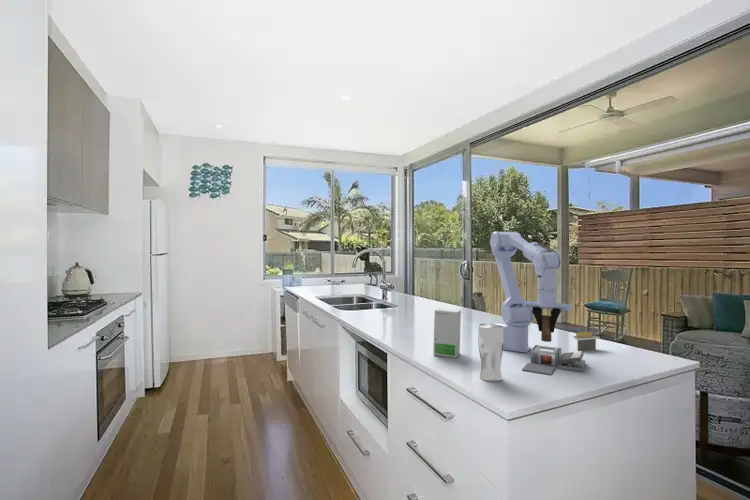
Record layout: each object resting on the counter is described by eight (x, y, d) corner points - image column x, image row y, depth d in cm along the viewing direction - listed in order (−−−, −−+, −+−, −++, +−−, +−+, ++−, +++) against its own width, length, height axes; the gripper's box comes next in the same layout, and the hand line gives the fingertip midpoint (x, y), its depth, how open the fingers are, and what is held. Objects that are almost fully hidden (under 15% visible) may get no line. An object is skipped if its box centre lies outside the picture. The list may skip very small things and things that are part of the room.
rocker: (559, 363, 123) (558, 359, 124) (563, 356, 131) (562, 352, 131) (580, 361, 120) (579, 357, 120) (583, 354, 128) (582, 350, 128)
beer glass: (488, 383, 110) (489, 328, 109) (473, 376, 116) (473, 324, 116) (509, 380, 112) (509, 326, 112) (492, 373, 119) (492, 322, 119)
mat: (522, 370, 121) (522, 369, 121) (527, 363, 128) (527, 362, 128) (550, 375, 117) (550, 373, 117) (555, 368, 124) (555, 366, 124)
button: (540, 361, 130) (540, 356, 130) (541, 359, 133) (541, 354, 133) (550, 362, 128) (550, 357, 128) (552, 360, 131) (552, 355, 131)
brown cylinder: (540, 340, 130) (540, 316, 130) (542, 339, 133) (542, 314, 133) (550, 342, 129) (550, 317, 128) (552, 340, 131) (552, 315, 131)
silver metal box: (529, 364, 128) (529, 351, 128) (535, 356, 136) (535, 345, 136) (582, 372, 120) (582, 358, 120) (585, 363, 128) (585, 351, 128)
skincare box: (432, 355, 138) (433, 310, 138) (437, 350, 144) (437, 307, 144) (457, 358, 135) (457, 311, 134) (461, 353, 141) (461, 308, 141)
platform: (552, 348, 149) (552, 330, 149) (591, 344, 154) (591, 327, 154) (577, 356, 138) (577, 337, 138) (618, 352, 143) (618, 334, 143)
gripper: (520, 289, 131) (520, 330, 131) (569, 292, 123) (569, 336, 123) (525, 287, 137) (525, 327, 137) (572, 289, 129) (572, 332, 129)
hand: (546, 331), depth 131 cm, fingers closed on brown cylinder, 3 cm apart
